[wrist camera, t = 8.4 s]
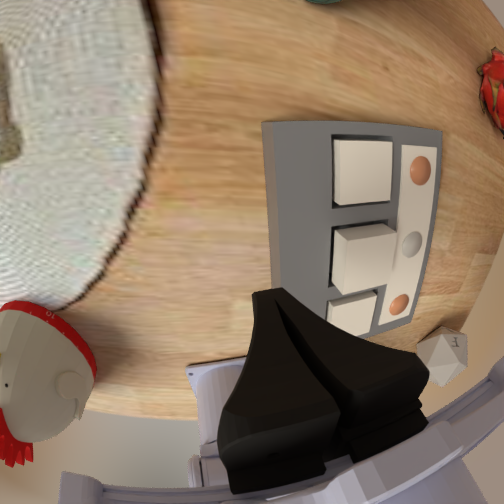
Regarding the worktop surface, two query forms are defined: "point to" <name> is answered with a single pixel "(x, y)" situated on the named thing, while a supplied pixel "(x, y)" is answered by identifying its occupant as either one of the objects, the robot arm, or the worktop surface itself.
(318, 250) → the button board
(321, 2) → the beverage bottle
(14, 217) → the worktop surface
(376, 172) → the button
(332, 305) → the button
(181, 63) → the worktop surface
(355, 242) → the middle button
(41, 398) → the kitchen timer
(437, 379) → the die
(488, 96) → the dragon fruit
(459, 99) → the worktop surface
